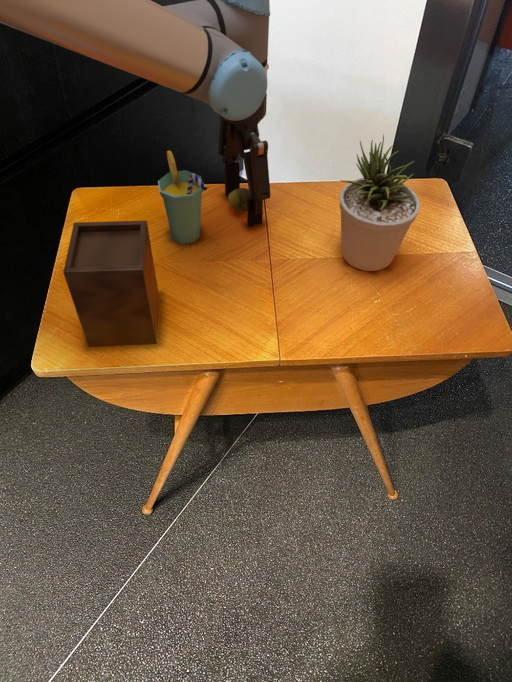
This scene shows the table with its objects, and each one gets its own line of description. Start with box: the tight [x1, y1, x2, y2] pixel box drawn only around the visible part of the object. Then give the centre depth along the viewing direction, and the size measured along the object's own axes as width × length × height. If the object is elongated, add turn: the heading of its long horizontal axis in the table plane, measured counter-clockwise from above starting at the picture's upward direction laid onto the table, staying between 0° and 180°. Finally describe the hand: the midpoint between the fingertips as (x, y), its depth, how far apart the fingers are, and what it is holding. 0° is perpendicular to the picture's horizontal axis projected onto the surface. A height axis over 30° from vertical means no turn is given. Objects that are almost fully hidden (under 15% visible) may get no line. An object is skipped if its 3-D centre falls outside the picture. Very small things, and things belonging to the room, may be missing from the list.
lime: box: [227, 187, 250, 213], centre depth 100 cm, size 4×5×5 cm
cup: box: [157, 150, 208, 245], centre depth 91 cm, size 14×8×15 cm, turn 36°
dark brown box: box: [63, 220, 160, 348], centre depth 78 cm, size 10×10×15 cm
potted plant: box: [339, 133, 421, 272], centre depth 88 cm, size 13×14×20 cm
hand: (243, 209), depth 102 cm, fingers open, 9 cm apart
